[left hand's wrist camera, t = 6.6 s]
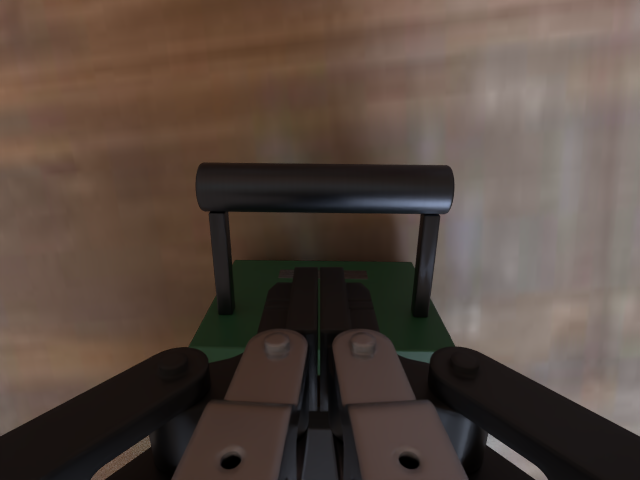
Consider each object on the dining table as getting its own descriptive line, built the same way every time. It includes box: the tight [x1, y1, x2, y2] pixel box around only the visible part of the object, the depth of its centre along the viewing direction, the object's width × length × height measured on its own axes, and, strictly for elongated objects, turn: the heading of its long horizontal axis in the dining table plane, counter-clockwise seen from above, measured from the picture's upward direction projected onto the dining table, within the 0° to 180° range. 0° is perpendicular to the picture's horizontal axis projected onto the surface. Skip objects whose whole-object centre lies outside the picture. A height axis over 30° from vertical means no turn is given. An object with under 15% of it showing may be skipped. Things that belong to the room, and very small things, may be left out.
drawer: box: [189, 163, 455, 407], centre depth 20 cm, size 26×10×8 cm, turn 179°
